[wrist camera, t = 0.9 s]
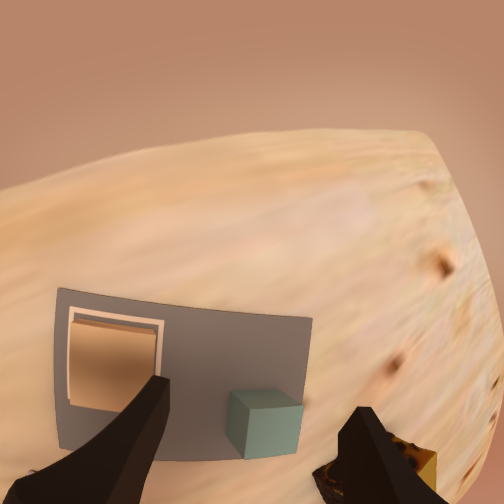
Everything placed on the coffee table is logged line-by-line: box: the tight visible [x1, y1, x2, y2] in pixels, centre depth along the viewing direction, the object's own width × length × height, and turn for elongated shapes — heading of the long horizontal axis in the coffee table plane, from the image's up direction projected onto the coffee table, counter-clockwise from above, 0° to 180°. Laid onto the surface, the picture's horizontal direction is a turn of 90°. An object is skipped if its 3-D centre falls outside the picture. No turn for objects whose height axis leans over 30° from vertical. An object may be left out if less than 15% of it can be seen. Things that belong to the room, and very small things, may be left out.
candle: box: [313, 432, 437, 504], centre depth 24 cm, size 10×10×10 cm
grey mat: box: [54, 288, 313, 461], centre depth 22 cm, size 14×22×1 cm, turn 84°
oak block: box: [69, 318, 156, 412], centre depth 19 cm, size 6×6×3 cm
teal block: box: [226, 390, 304, 460], centre depth 22 cm, size 4×4×4 cm
